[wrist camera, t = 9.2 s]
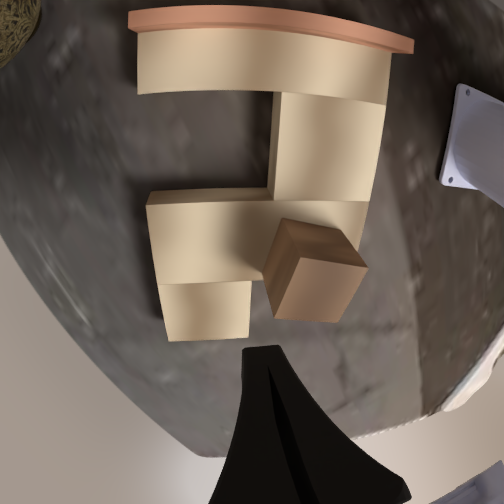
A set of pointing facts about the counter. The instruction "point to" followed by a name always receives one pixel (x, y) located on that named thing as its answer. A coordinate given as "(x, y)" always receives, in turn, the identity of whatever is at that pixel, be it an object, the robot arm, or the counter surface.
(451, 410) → the counter surface
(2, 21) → the cup
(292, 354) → the counter surface
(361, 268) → the walnut cube
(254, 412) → the robot arm
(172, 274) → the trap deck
